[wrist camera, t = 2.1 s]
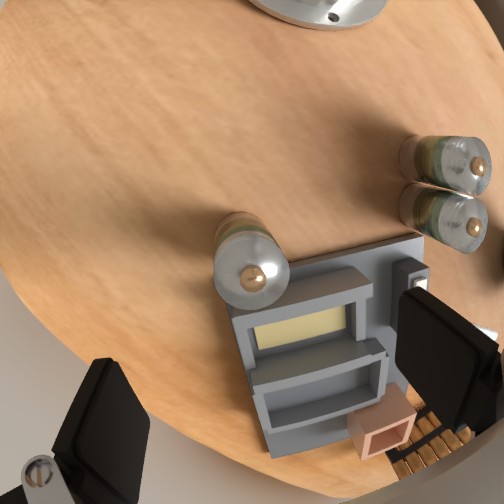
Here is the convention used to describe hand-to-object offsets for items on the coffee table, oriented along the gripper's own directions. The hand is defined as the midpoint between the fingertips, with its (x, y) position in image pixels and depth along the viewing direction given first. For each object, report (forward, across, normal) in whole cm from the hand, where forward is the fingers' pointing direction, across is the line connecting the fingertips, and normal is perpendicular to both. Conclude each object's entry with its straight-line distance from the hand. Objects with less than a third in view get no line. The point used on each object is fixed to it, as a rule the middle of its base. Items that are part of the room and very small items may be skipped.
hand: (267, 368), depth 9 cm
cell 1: (+12, 0, -1) cm, 12 cm away
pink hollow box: (+12, -10, +20) cm, 25 cm away
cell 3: (+12, -14, -1) cm, 19 cm away
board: (+13, -6, +13) cm, 19 cm away
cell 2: (+12, -15, -4) cm, 20 cm away
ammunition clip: (+13, -17, +28) cm, 36 cm away
